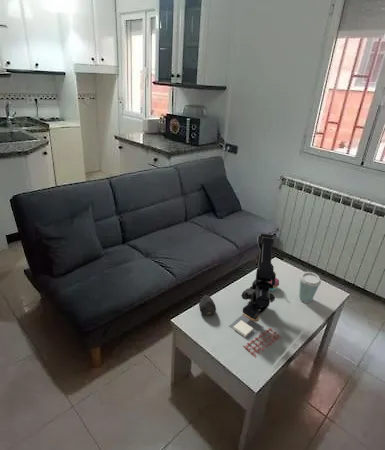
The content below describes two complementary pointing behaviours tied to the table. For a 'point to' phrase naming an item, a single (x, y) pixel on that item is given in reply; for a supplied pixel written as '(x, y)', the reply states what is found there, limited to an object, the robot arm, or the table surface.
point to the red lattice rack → (261, 342)
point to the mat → (251, 323)
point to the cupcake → (275, 284)
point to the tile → (243, 328)
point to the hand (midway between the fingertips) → (256, 317)
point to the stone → (207, 306)
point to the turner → (252, 318)
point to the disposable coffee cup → (308, 286)
